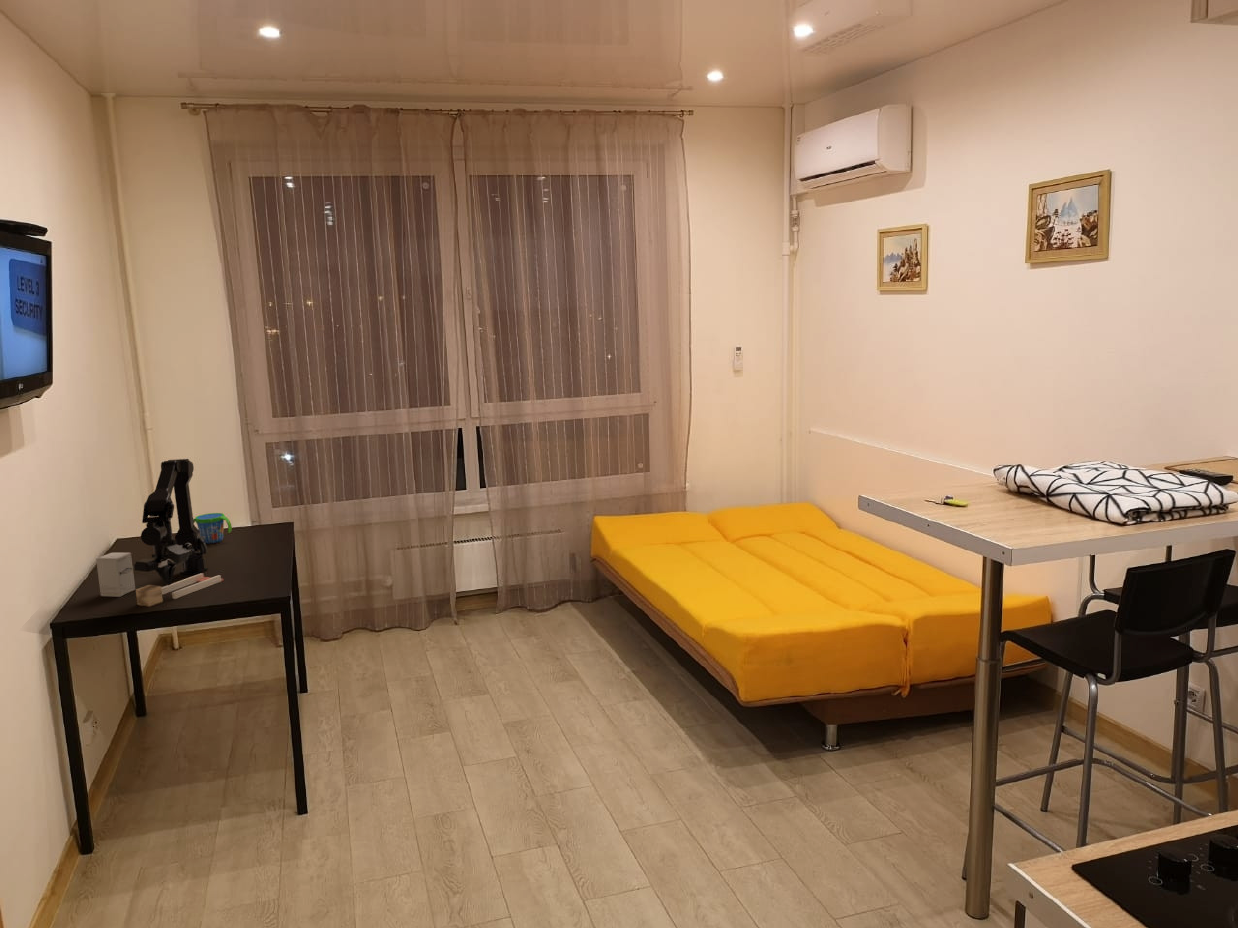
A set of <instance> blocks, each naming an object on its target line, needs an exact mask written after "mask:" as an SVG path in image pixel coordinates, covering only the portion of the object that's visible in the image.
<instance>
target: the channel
mask: <svg viewBox="0 0 1238 928" xmlns="http://www.w3.org/2000/svg"><path fill="white" fill-rule="evenodd" d="M223 581H225V580H224V578H222V576H221V575H220V574H219V575H215V576H213V577H212V576H211V577H210V576H209V577H208V576H205V575H204V573H202V572H199V573H197V574H194V575H193V576H190V577H187V578H185V579H181V580H179V581H175V582H173V583H171V585H165V586H161V590H162V596H163V595H166V594H168V593H171V596H172V597H171V598H172V599H173V600H176V599H179V598H181V597H184V596H186V595H189V594H193V592H197V591H200V590H202V589H205V588H208V587H210V586H213V585H215V584H218V583H221V582H223Z"/></svg>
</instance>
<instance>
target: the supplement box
mask: <svg viewBox="0 0 1238 928" xmlns="http://www.w3.org/2000/svg"><path fill="white" fill-rule="evenodd" d="M132 559H133V558H132V552H109V553H107V554H105V555H101V556H99V557H97V558H95V560H96V567H97V568H96V570H97V577H98V583H99V584H98V585H99V591H100V597H117V598H121V597H122V596H124V595H126V594H129V593H131V592H133V591H136V585H135V584H136V583H135V577H134V576H135V575H134V565H133V560H132Z"/></svg>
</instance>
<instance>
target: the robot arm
mask: <svg viewBox="0 0 1238 928" xmlns="http://www.w3.org/2000/svg"><path fill="white" fill-rule="evenodd" d="M160 469H161V470H160V472H159V476H158V480H157V481H156V487H155V489H154V491H153V492H151V493H150V494H149V495H148V496H147V499H146V501H145V502H144V505H143V511H142V512H143V513H142V521H141V522H142V524H145V525H146V527H145V528H144V529H143V530H142V531H141V534H140V538H141V542H143V543H144V544H145V545H146V546H150V547H151V546H153V553H152V554H151V558H142V559H138V560H136V561H135V562H134V563H133V569H134V571H136V572H137V571H138V572H147V573H148V572H153V571H155V572H156V573H157V574H158V575H159V577H160V578H161V580H162V581H163V583H164V584H165V586H167V585H171V584H172V581H173V578H174V573H175V570H176V568H177V566H179V565H180V564H181V563H182V569H183V570H181V571H179V574H186V575H197V574H200V573H202V572H204V571H207V570H208V569H209V568H208V567H205V559H204V555H205V554H207V553H208V550H207V549H208V548H207V543H205V542H204V540H203V539H202V537H201V534H200V531H199V530H198V527H196V526H195V522H194V521H193V519H194V515H193V508H192V501H191V493H190V491H191V490H190V485H189V484H190V482H191V480H192V478H193V476H194V475H193V472H194V471H195V470H194V463H193V461H190V459H188V458H180V459H168V460H164V461H162V462H161V463H160ZM172 493H174V499H175V500H174V501H175V504H174V502H173V499H172V498H171V497H172ZM175 506H176V507H175ZM175 508H176V513H177V523H178V530H177V532H176V534H175V535H174V537H173V528H172V519H173V517H174V512H175V511H174V510H175Z"/></svg>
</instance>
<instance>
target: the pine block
mask: <svg viewBox="0 0 1238 928" xmlns="http://www.w3.org/2000/svg"><path fill="white" fill-rule="evenodd" d="M161 588H162V585H154V584H147V585H145V586H142V587H139V588H135V595H136V603H137V606H143V607H152V606H154V605H157V604H160V603H163V601H164V600H163V599H164V598H163V595H162V590H161Z"/></svg>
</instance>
